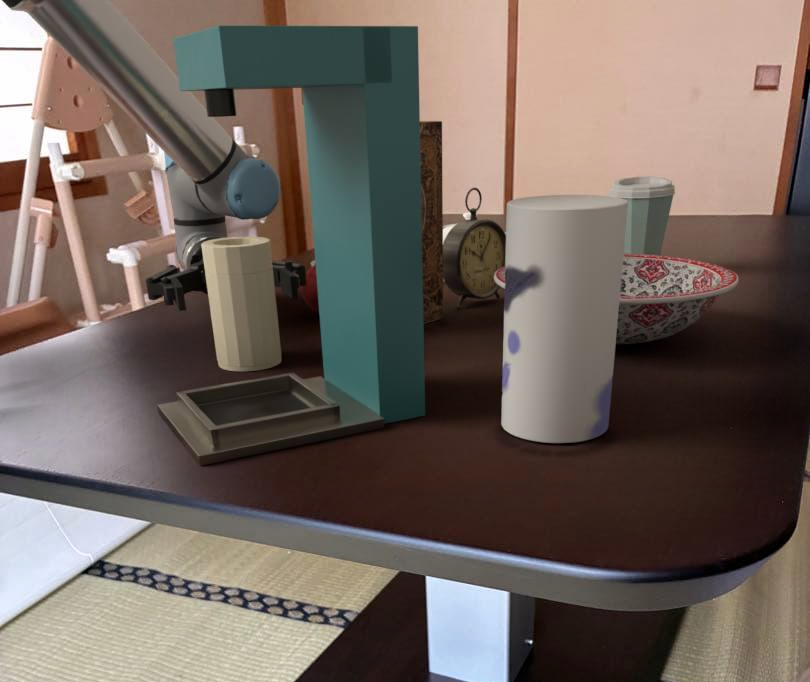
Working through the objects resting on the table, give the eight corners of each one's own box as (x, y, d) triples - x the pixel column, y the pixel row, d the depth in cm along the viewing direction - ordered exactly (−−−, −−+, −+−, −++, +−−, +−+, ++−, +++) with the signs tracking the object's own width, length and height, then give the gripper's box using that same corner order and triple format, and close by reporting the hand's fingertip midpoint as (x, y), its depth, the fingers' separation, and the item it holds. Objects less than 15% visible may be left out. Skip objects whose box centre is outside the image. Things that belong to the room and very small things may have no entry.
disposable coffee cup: (674, 279, 137) (685, 180, 130) (608, 281, 138) (616, 183, 131) (658, 268, 147) (668, 175, 140) (596, 269, 147) (603, 177, 140)
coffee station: (158, 413, 86) (92, 39, 70) (362, 377, 95) (343, 38, 79) (200, 466, 73) (130, 24, 58) (430, 418, 82) (424, 25, 67)
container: (482, 418, 82) (485, 198, 72) (569, 402, 85) (583, 190, 76) (536, 452, 74) (547, 209, 64) (630, 433, 77) (653, 200, 68)
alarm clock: (459, 312, 121) (459, 192, 114) (434, 307, 125) (432, 189, 117) (511, 300, 128) (514, 185, 120) (485, 295, 131) (487, 183, 124)
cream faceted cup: (210, 360, 103) (194, 240, 96) (269, 350, 106) (257, 234, 99) (228, 375, 97) (212, 249, 90) (290, 365, 100) (278, 242, 93)
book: (420, 311, 122) (416, 121, 111) (448, 316, 119) (448, 121, 107) (338, 334, 112) (325, 126, 100) (367, 341, 109) (357, 127, 97)
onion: (350, 315, 122) (347, 258, 118) (315, 322, 119) (311, 263, 115) (330, 308, 126) (326, 253, 122) (296, 314, 123) (291, 258, 119)
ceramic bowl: (463, 360, 100) (463, 291, 96) (524, 306, 123) (526, 249, 120) (721, 381, 90) (733, 305, 86) (734, 318, 114) (743, 257, 110)
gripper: (302, 283, 123) (341, 313, 106) (126, 301, 116) (137, 336, 98) (297, 230, 120) (337, 251, 102) (116, 244, 113) (125, 270, 95)
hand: (239, 293), depth 100 cm, fingers open, 13 cm apart
